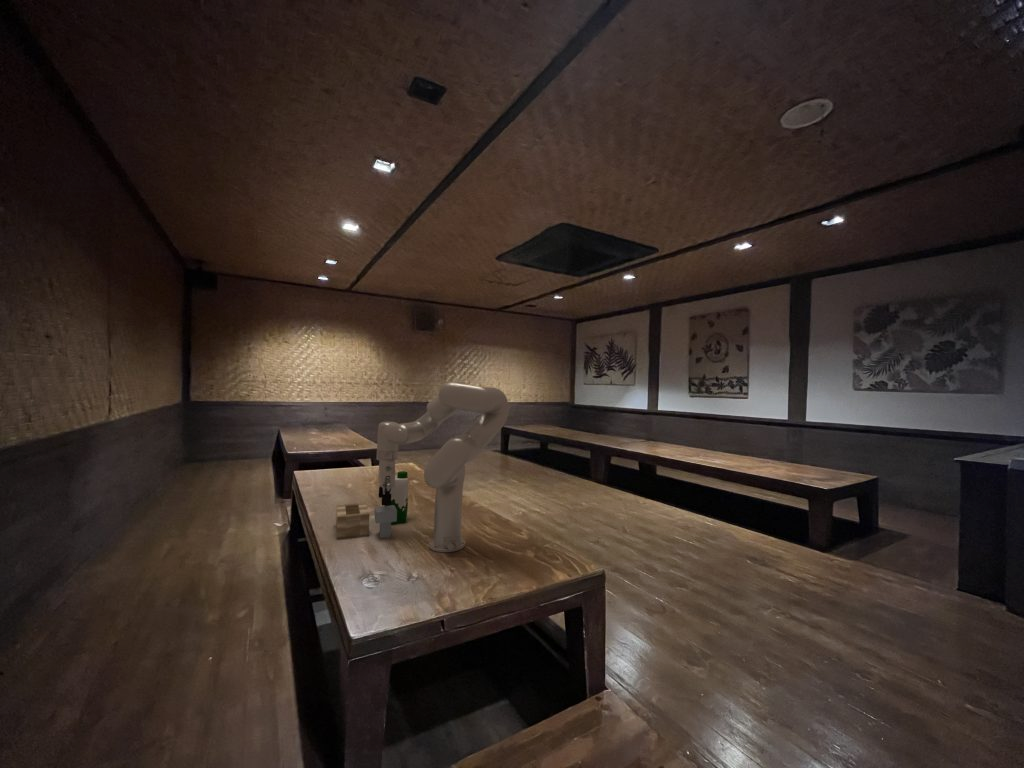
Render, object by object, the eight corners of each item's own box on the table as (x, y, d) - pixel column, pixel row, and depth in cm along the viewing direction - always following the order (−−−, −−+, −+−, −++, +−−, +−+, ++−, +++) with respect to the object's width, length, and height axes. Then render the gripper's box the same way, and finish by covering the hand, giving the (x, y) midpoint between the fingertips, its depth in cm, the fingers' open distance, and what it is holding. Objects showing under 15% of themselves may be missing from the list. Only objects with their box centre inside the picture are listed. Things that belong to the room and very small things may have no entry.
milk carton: (408, 523, 160) (410, 474, 161) (385, 526, 157) (387, 475, 157) (404, 516, 168) (406, 469, 169) (382, 519, 164) (384, 471, 165)
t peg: (396, 537, 145) (397, 510, 145) (376, 540, 142) (376, 512, 142) (393, 531, 151) (394, 505, 151) (374, 533, 148) (375, 507, 148)
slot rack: (368, 535, 146) (369, 514, 146) (336, 539, 141) (337, 517, 141) (365, 522, 160) (365, 502, 160) (336, 525, 156) (336, 504, 156)
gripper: (401, 459, 140) (398, 507, 140) (394, 450, 156) (391, 494, 156) (379, 459, 137) (376, 508, 137) (374, 451, 153) (371, 495, 153)
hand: (384, 501), depth 147 cm, fingers open, 9 cm apart
